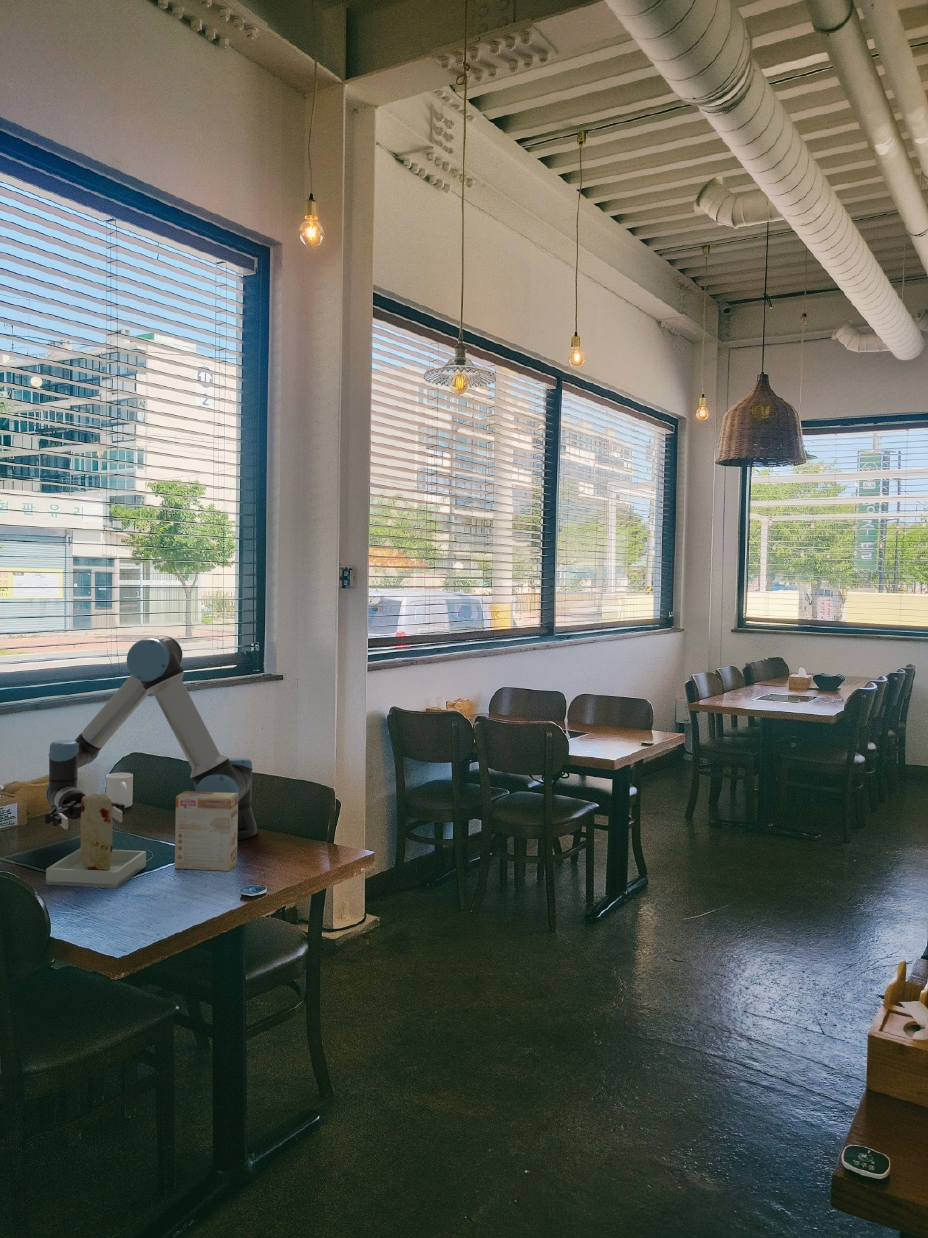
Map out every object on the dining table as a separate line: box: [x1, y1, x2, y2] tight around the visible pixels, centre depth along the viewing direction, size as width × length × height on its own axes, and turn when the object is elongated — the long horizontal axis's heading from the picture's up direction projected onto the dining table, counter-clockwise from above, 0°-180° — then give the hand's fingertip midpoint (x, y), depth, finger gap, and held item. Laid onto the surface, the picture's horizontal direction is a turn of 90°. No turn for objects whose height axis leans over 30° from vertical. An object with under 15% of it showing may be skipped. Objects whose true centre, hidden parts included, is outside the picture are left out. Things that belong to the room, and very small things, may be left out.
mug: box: [105, 772, 134, 809], centre depth 309 cm, size 12×8×10 cm
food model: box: [80, 793, 113, 871], centre depth 240 cm, size 10×7×20 cm
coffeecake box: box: [174, 790, 238, 872], centre depth 250 cm, size 15×7×20 cm, turn 86°
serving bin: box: [45, 847, 147, 889], centre depth 240 cm, size 18×18×4 cm
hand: (94, 820), depth 242 cm, fingers open, 13 cm apart
